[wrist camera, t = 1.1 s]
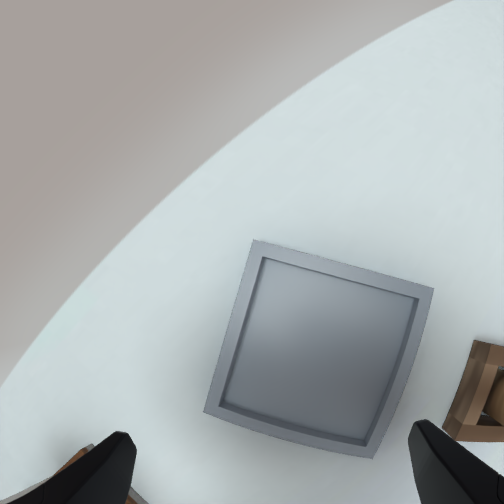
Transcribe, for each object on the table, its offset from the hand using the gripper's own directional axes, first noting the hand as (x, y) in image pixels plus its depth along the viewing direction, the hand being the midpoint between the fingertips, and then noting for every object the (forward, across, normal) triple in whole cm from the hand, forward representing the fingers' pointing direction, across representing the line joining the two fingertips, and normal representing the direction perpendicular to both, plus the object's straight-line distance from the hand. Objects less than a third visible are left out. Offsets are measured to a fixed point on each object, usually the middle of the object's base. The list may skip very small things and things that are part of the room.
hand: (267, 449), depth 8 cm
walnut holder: (+10, -19, +11) cm, 24 cm away
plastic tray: (+14, -3, +6) cm, 15 cm away
